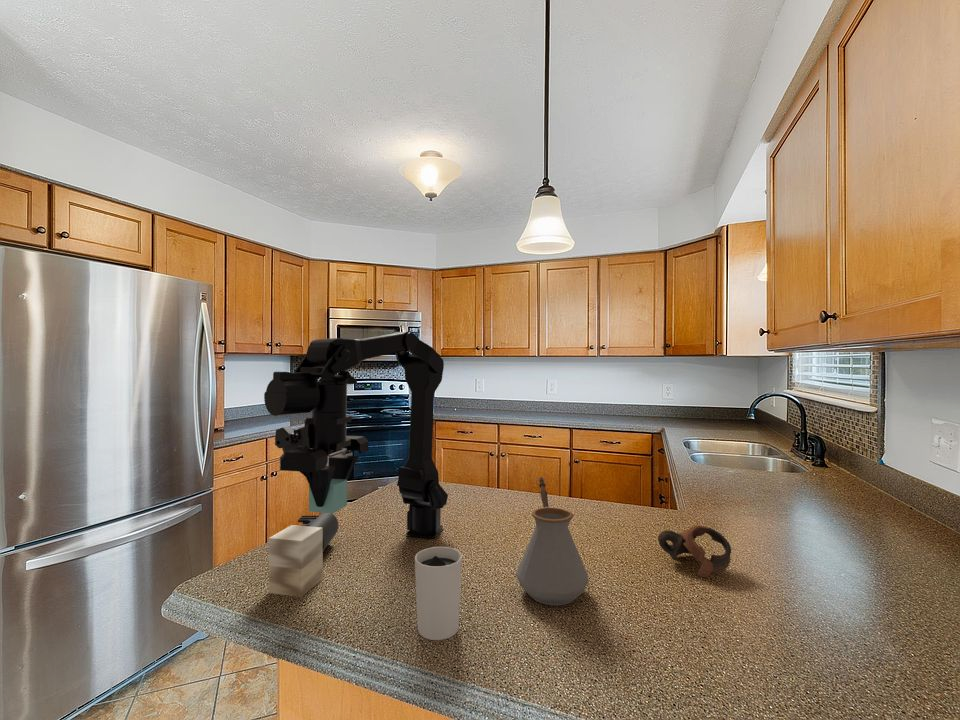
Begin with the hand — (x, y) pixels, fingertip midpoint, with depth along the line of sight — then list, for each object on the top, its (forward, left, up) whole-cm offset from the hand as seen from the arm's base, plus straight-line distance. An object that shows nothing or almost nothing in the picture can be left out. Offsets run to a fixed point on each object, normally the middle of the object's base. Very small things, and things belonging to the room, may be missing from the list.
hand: (327, 502), depth 76 cm
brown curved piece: (-62, -20, -14) cm, 67 cm away
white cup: (-23, +9, -14) cm, 28 cm away
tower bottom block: (+4, +3, -14) cm, 14 cm away
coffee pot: (-37, -9, -14) cm, 40 cm away
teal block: (0, 0, -1) cm, 1 cm away
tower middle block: (+4, +3, -9) cm, 10 cm away
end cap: (+9, -9, -14) cm, 19 cm away
